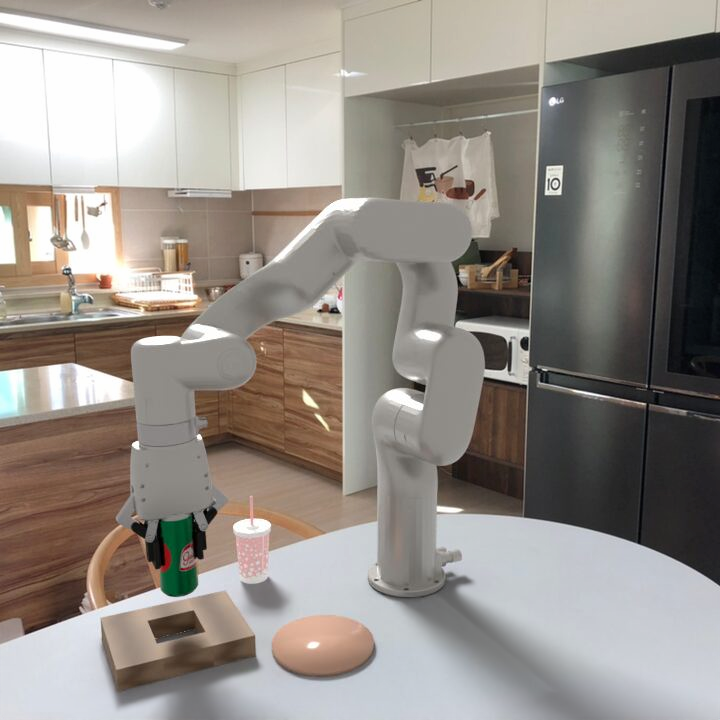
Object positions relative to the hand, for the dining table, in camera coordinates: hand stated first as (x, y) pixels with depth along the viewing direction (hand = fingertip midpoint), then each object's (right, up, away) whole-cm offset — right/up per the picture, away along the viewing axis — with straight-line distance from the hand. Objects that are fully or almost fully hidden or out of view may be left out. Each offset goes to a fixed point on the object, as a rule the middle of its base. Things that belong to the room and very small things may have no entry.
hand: (177, 559), depth 104 cm
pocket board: (-1, -13, +2) cm, 13 cm away
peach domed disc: (+20, -12, +2) cm, 23 cm away
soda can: (0, -5, +1) cm, 5 cm away
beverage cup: (+7, -9, +22) cm, 25 cm away
